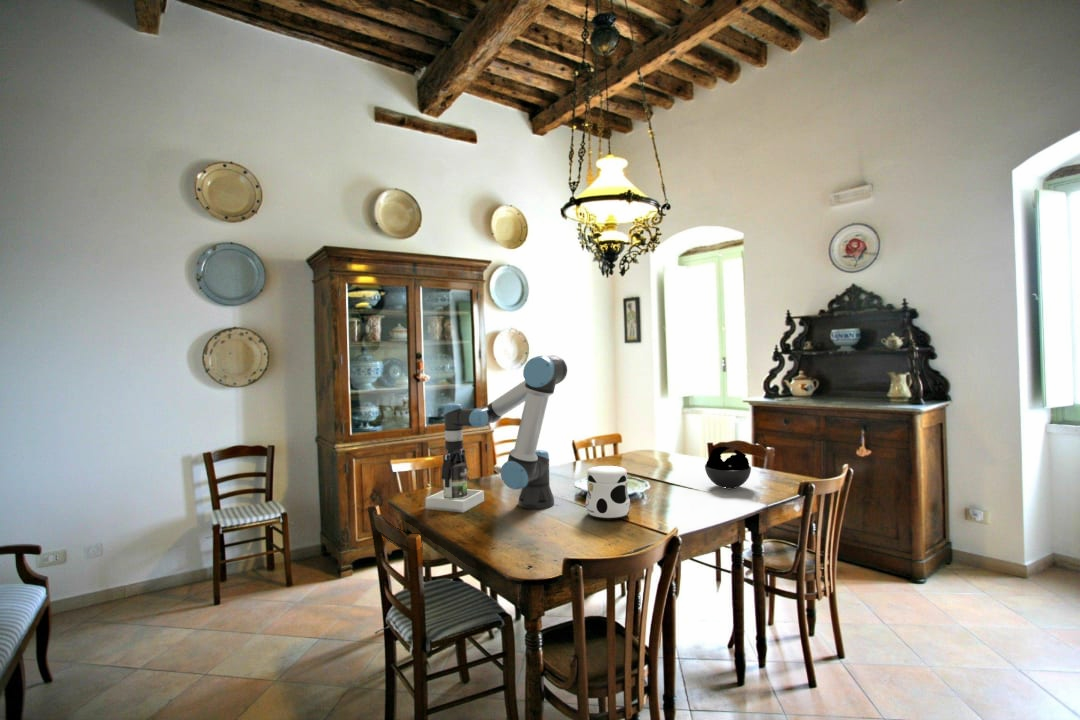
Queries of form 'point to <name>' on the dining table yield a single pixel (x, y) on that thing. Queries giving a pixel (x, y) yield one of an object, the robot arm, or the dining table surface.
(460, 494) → the coffee can
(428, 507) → the bin
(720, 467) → the coal bowl
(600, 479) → the milk container
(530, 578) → the dining table surface
